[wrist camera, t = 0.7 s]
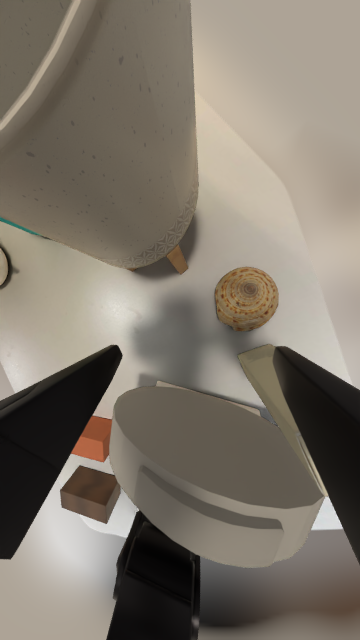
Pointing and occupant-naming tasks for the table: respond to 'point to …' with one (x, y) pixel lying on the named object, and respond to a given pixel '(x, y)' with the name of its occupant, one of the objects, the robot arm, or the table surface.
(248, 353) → the box
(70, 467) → the table surface
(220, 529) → the alarm clock
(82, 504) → the walnut bar
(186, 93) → the planter
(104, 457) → the terracotta bar
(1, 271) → the mug
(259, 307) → the seashell
